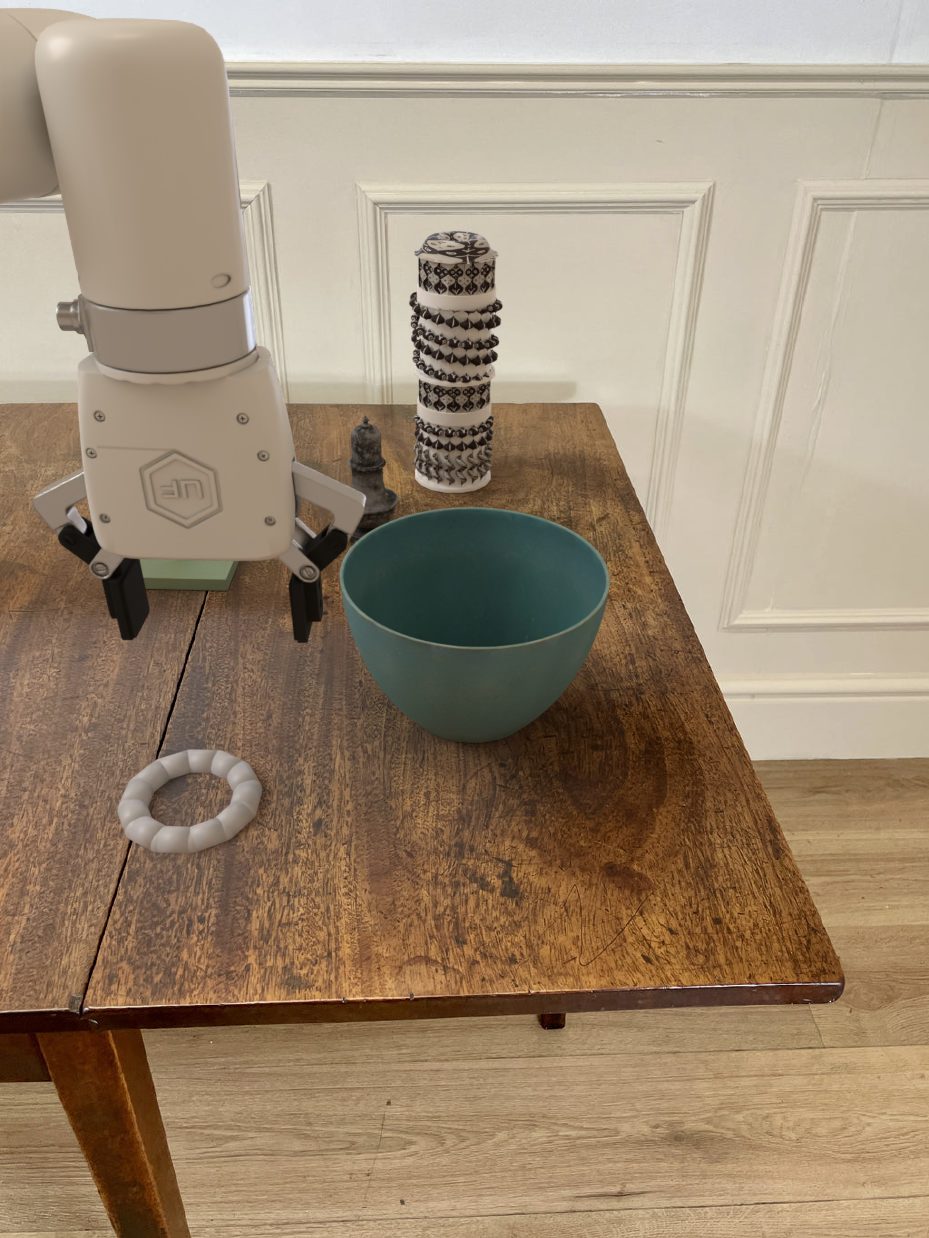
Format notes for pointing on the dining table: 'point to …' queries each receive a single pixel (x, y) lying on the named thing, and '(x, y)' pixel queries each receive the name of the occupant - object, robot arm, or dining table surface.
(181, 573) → the rack
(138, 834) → the ring
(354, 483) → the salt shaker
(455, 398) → the decorative candle
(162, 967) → the dining table surface
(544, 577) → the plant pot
